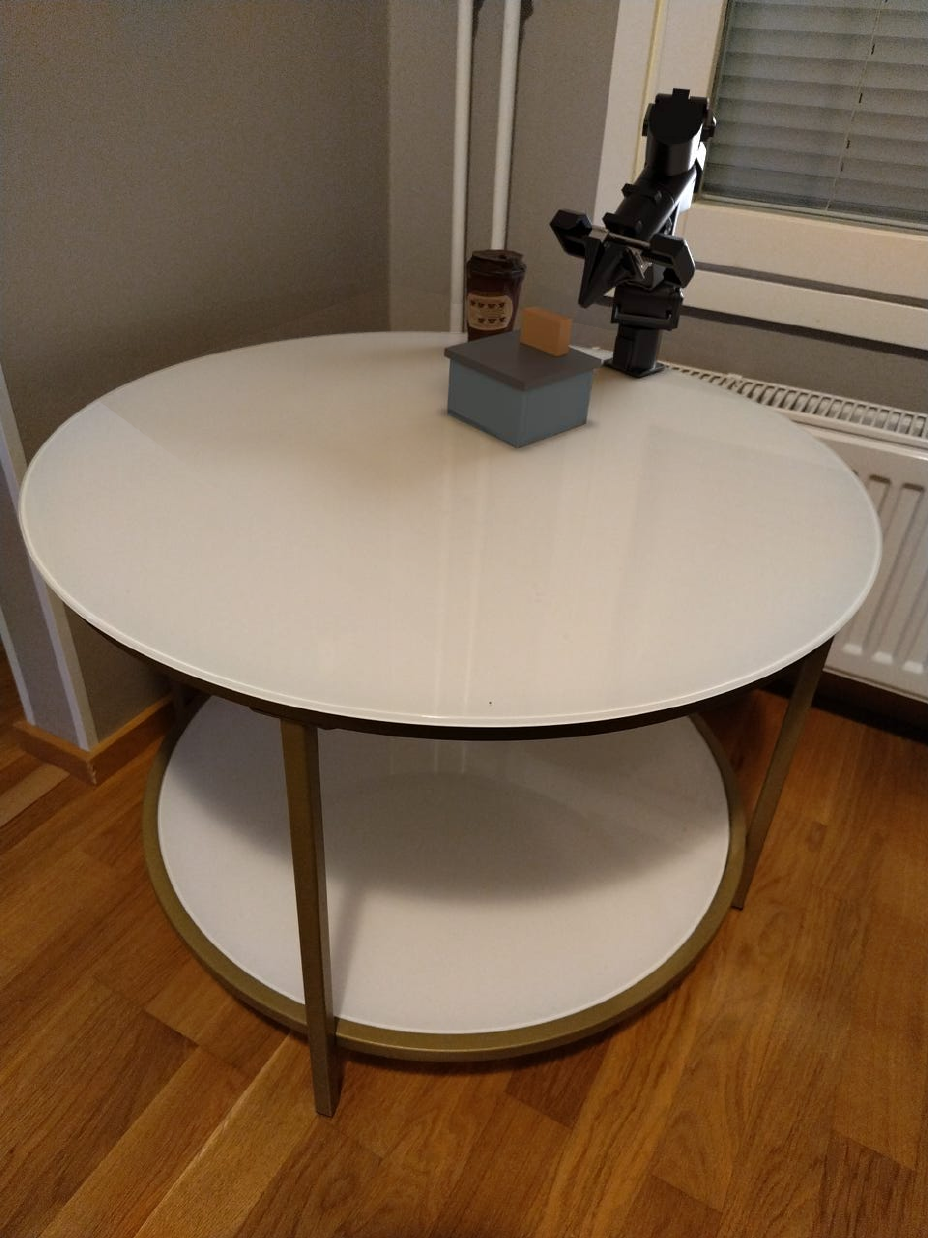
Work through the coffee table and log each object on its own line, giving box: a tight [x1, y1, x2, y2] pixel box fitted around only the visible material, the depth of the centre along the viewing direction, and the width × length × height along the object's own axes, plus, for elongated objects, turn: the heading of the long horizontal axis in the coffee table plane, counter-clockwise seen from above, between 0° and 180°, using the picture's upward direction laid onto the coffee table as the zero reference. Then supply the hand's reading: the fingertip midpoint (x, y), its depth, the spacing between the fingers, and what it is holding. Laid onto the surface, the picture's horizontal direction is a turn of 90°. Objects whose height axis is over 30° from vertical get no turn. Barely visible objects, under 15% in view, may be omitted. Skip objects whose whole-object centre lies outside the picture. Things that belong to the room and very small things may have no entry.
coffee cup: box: [465, 248, 528, 342], centre depth 121 cm, size 9×8×13 cm
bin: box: [446, 359, 595, 449], centre depth 102 cm, size 12×12×7 cm
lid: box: [443, 305, 603, 391], centre depth 99 cm, size 13×13×5 cm
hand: (581, 305), depth 103 cm, fingers closed
